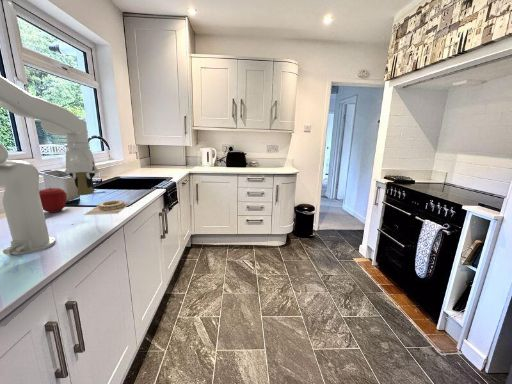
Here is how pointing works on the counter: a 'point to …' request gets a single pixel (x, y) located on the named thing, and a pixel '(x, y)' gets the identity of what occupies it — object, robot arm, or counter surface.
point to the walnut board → (113, 211)
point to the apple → (53, 199)
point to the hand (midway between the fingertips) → (84, 186)
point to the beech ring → (110, 204)
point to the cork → (83, 184)
